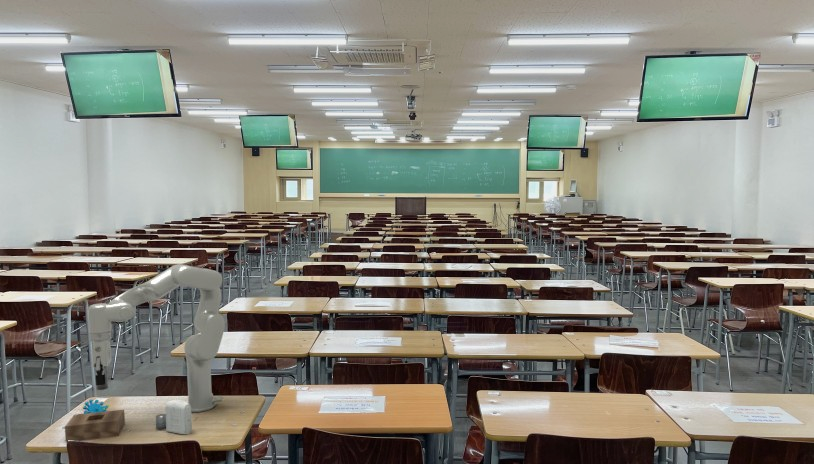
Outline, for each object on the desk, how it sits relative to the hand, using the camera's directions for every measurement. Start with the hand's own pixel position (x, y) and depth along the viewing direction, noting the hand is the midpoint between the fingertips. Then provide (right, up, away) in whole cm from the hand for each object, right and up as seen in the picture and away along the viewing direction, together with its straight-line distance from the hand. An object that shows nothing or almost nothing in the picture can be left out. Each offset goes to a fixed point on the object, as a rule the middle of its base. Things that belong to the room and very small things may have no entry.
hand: (102, 382), depth 221 cm
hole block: (-3, -20, +1) cm, 20 cm away
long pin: (0, -2, 0) cm, 2 cm away
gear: (-11, -19, +16) cm, 27 cm away
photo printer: (+29, -20, +1) cm, 35 cm away
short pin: (+21, -19, +5) cm, 29 cm away
